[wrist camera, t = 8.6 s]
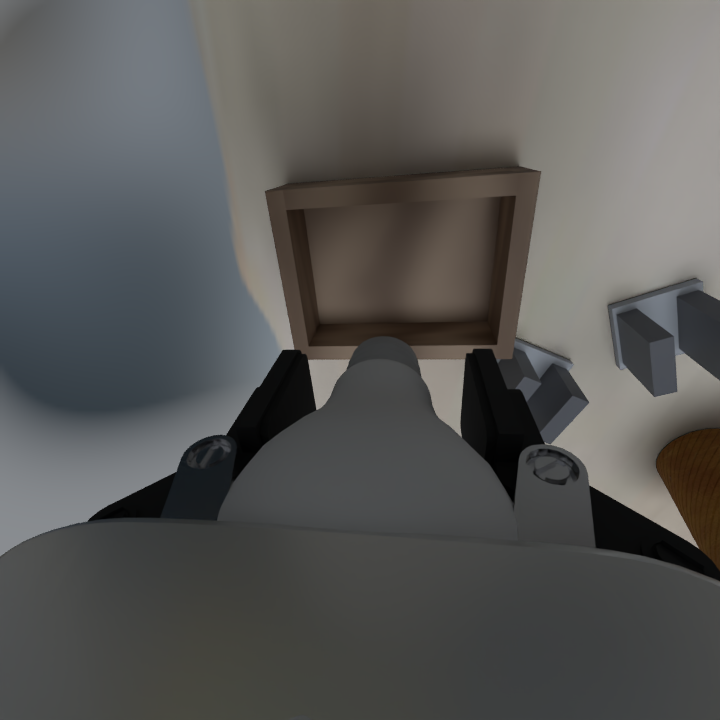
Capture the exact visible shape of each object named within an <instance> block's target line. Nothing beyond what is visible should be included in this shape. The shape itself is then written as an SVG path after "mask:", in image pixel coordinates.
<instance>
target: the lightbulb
mask: <svg viewBox="0 0 720 720" xmlns="http://www.w3.org/2000/svg"><path fill="white" fill-rule="evenodd" d="M217 521H231V522H248V523H265V524H279V525H290V526H299V527H310V528H323V529H335V530H351V531H369V532H390V533H417V534H433V535H447V536H462V537H476V538H490V539H504V540H516V541H518V533H517V522H516V519H515V515H514V504H513V502H512V500H511V498H510V497H509V495H508V493H507V492H506V490H505V488H504V487H503V485H502V483H501V482H500V480H499V479H498V477H497V475H496V474H495V472H494V471H493V469H492V468H491V466H490V465H489V463H488V462H487V461H485V460H484V459H483V458H482V457H481V456H480V455H479V454H478V453H477V452H476V451H475V450H474V449H473V448H472V447H471V446H470V445H469V444H468V443H467V442H466V441H465V440H464V439H462V438H461V437H460V436H459V435H458V434H457V433H456V432H455V431H454V430H453V429H452V428H451V427H450V426H448V425H447V424H446V423H444V422H443V421H442V420H440V419H439V418H438V416H437V415H436V413H435V411H434V408H433V406H432V401H431V396H430V392H429V390H428V387H427V385H426V384H425V382H424V381H423V379H422V378H421V373H420V367H419V365H418V359H417V357H416V354H415V353H414V351H413V350H412V348H411V347H410V346H409V345H408V344H406V343H405V342H403V341H401V340H399V339H397V338H393V337H388V336H380V337H374V338H370V339H368V340H366V341H364V342H363V343H361V344H360V345H359V346H358V347H357V348H356V349H355V351H354V353H353V355H352V357H351V359H350V361H349V365H348V367H347V370H346V371H345V372H344V373H343V374H342V375H341V377H340V378H339V379H338V380H337V382H336V384H335V386H334V389H333V391H332V394H331V396H330V398H329V399H328V401H327V402H326V404H325V405H324V406H323V407H322V408H320V409H318V410H316V411H314V412H312V413H310V414H308V415H306V416H304V417H303V418H301V419H300V420H298V421H297V422H295V423H294V424H292V425H291V426H289V427H288V428H286V429H285V430H283V431H282V432H280V433H279V434H278V435H276V436H275V437H274V438H272V439H271V440H270V441H269V442H267V443H266V444H265V445H263V447H262V448H261V449H260V450H259V451H258V452H257V454H256V455H255V456H254V457H253V458H252V460H251V461H250V462H249V463H248V464H247V465H246V467H245V468H244V469H243V471H242V472H241V473H240V474H239V476H238V477H237V478H236V480H235V481H234V482H233V484H232V486H231V488H230V490H229V492H228V494H227V496H226V498H225V500H224V502H223V504H222V506H221V508H220V511H219V514H218V518H217Z"/></svg>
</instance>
